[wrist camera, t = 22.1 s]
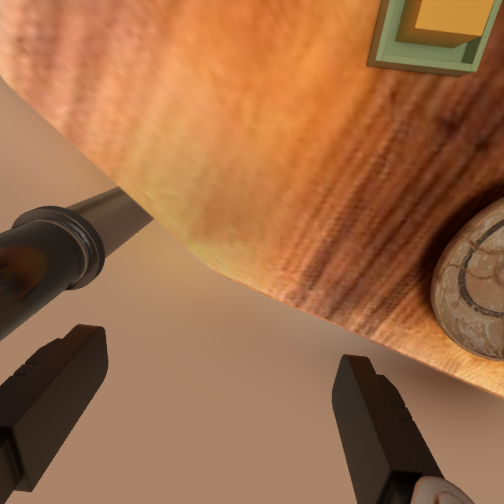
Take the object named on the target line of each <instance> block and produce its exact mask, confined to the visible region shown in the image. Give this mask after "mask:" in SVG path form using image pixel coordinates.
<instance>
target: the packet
mask: <svg viewBox="0 0 504 504" xmlns="http://www.w3.org/2000/svg"><path fill="white" fill-rule="evenodd" d="M493 3H494V0H406V1H405V5H404V9H403V13H402V17H401V21H400V25H399V28H398V32H397V36H396V40H395V41H397V42H406V43H414V44H422V45H430V46H439V47H447V48H455V47H457V46H459V45H462V44H464V43H466V42H469V41H471V40H473V39H476V38H478V37H480V36H482V34H483V31H484V28H485V25H486V22H487V19H488V17H489V14H490V11H491V8H492V5H493Z"/></svg>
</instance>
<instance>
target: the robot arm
mask: <svg viewBox="0 0 504 504" xmlns="http://www.w3.org/2000/svg"><path fill="white" fill-rule="evenodd" d="M88 266H89V254H88V250H87V248H86V246H85V244H84V242H83V240H82V239H81V238H80V236H79V235H78V234H77V233H76V232H75V231H74V230H72V229H71V228H70V227H68V226H67V225H65V224H63V223H61V222H58V221H55V220H52V219H37V220H33V221H31V222H28V223H26V224H24V225H23V226H21V227H15V228H13V229H10V230H8V231H5V232H3V233H0V341H1V340H2V339H4V338H5V337H6V336H8V335H9V334H10V333H11V332H13V330H15V329H16V328H18V327H19V326H20V325H21V324H22V323H24V322H25V321H26V320H28V319H29V318H30V317H31V316H33V315H34V314H35V313H36V312H38V311H39V310H40V309H41V308H43V307H44V306H45V305H46V304H48V303H49V302H50V301H51V300H53V299H54V298H55V297H56V296H58V295H59V294H60V293H61V292H63V291H64V290H68V289H71V288H73V287H74V286H76V285H77V284H75V285H72V284H73V283H75V282H76V281H78V280H79V279H80V278H81V277H83V276H84V274H85V273H86V271H87V269H88ZM70 285H71V286H70ZM107 370H108V355H107V344H106V334H105V329H104V328H103V327H101V326H92V325H82V324H79V325H76V326H75V327H74V328H73V329H72V330H71V331H70V332H69V333H68V334H67V335H66V336H65V337H64V338H63V339H60V338H59V339H58V338H57V339H55V340H54V341H52V342H50V343H48V344H47V345H45V346H43V347H41V348H40V349H38V350H37V351H36V352H35V353H34V354H33V355H32V356H31V357H30V358H29V359H28V360H27V361H26V362H25V364H24V365H22V366H21V367H20V368H18V369H17V370H16V371H15V372H14V375H13V376H10V377H9V378H8V379H7V380H6V381H5V382H4V383H3V384H2V385H1V386H0V504H5V502H6V501H7V499H8V498H9V496H10V495H11V493H12V492H13V490H16V491H25V492H32V491H33V489H34V488H35V486H36V484H37V483H38V481H39V480H40V478H41V477H42V475H43V474H44V472H45V471H46V469H47V467H48V466H49V464H50V463H51V461H52V460H53V458H54V457H55V455H56V454H57V452H58V451H59V449H60V447H61V446H62V444H63V443H64V441H65V440H66V438H67V437H68V435H69V433H70V432H71V430H72V429H73V427H74V426H75V424H76V422H77V421H78V419H79V418H80V416H81V415H82V414H83V412H84V410H85V409H86V407H87V406H88V404H89V403H90V401H91V400H92V398H93V397H94V395H95V393H96V392H97V390H98V389H99V387H100V386H101V384H102V383H103V381H104V379H105V376H106V374H107ZM332 406H333V411H334V414H335V418H336V422H337V426H338V430H339V434H340V438H341V442H342V446H343V449H344V453H345V457H346V461H347V465H348V469H349V473H350V477H351V481H352V484H353V488H354V492H355V496H356V500H357V504H475V503H474V502H473V501H472V500H471V499H470V498H469V497H468V496H467V495H466V494H465V493H464V492H463V491H462V490H461V489H460V488H458V487H457V486H455V485H454V484H452V483H451V482H449V481H447V480H445V478H444V476H443V475H442V473H441V471H440V469H439V467H438V465H437V463H436V461H435V460H434V458H433V456H432V454H431V452H430V450H429V448H428V447H427V444H426V443H425V441H424V439H423V437H422V435H421V433H420V431H419V429H418V428H417V426H416V424H415V422H414V421H413V420H412V416H411V414H410V412H409V411H408V409H407V408H406V407H405V403H404V401H403V399H402V397H401V395H400V394H399V392H398V390H397V388H396V387H395V386H394V385H393V384H392V383H391V382H390V381H389V380H388V379H387V378H386V377H385V376H384V375H377V374H376V372H375V370H374V368H373V366H372V364H371V362H370V360H369V359H368V358H367V357H364V356H355V355H346V354H344V355H343V356H342V358H341V361H340V365H339V368H338V371H337V375H336V378H335V382H334V385H333V389H332Z"/></svg>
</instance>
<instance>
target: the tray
mask: <svg viewBox="0 0 504 504" xmlns="http://www.w3.org/2000/svg"><path fill="white" fill-rule="evenodd" d="M405 1H406V0H382V1H381V5H380V10H379V14H378V19H377V23H376V27H375V32H374V36H373V41H372V45H371V49H370V54H369V58H368V63H367V66H373V67H381V68H390V69H399V70H407V71H416V72H424V73H433V74H442V75H450V76H459V77H460V76H463V75H467V74H471V73H475V72H476V71H477V68H478V66H479V63H480V60H481V57H482V54H483V52H484V49H485V46H486V43H487V41H488V38H489V35H490V32H491V29H492V27H493V24H494V21H495V18H496V16H497V13H498V10H499V7H500V4H501V2H502V0H494V3H493V5H492V8H491V11H490V14H489V17H488V19H487V22H486V25H485V28H484V31H483V34H482V36H480V37H478V38H476V39H473V40H471V41H469V42H466V43H464V44H462V45H459V46H457V47H455V48H447V47H439V46H430V45H422V44H414V43H406V42H397V41H395V40H396V36H397V32H398V28H399V25H400V21H401V17H402V13H403V9H404V5H405Z"/></svg>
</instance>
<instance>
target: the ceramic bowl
mask: <svg viewBox="0 0 504 504" xmlns="http://www.w3.org/2000/svg"><path fill="white" fill-rule="evenodd" d="M431 304H432V308H433V311H434V314H435V317H436V319H437V321H438V323H439V325H440V327H441V328H442V330H443V331H444V332H445V334H446V335H447V336H448V337H449V338H450V339H451V340H452V341H453V342H454V343H456V344H457V345H458V346H460V347H461V348H462V349H464V350H466V351H468V352H470V353H472V354H474V355H477V356H479V357H482V358H486V359H489V360H494V361H502V362H504V197H502V198H500V199H499V200H497V201H495V202H494V203H492V204H490V205H489V206H487V207H486V208H485V209H483V210H482V211H480V212H479V213H478V214H477V215H475V216H474V217H473V218H472V219H471V220H470V221H469V222H467V223H466V224H465V225H464V226H463V227H462V229H461V230H459V232H458V233H457V234H456V235H455V236H454V237H453V238H452V240H451V241H450V242H449V244H448V245H447V246H446V248H445V249H444V251H443V253H442V255H441V256H440V258H439V260H438V263H437V265H436V267H435V270H434V273H433V278H432V282H431Z"/></svg>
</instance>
